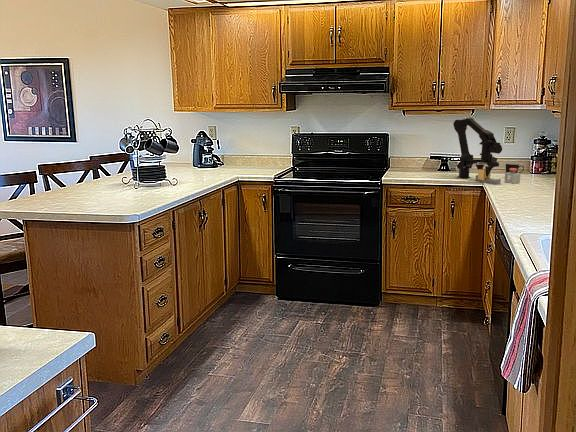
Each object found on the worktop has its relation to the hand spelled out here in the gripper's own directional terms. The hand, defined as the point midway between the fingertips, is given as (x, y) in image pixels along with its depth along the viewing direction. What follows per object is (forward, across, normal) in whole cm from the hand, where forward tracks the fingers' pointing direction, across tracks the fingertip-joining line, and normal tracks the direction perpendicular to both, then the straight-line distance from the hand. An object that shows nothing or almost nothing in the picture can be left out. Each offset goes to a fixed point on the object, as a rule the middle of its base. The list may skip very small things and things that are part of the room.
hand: (484, 176), depth 383 cm
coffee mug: (+4, +2, -28) cm, 28 cm away
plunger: (0, -11, -14) cm, 18 cm away
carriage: (+2, 0, 0) cm, 2 cm away
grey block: (+3, -10, -14) cm, 18 cm away
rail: (+3, -4, 0) cm, 5 cm away
